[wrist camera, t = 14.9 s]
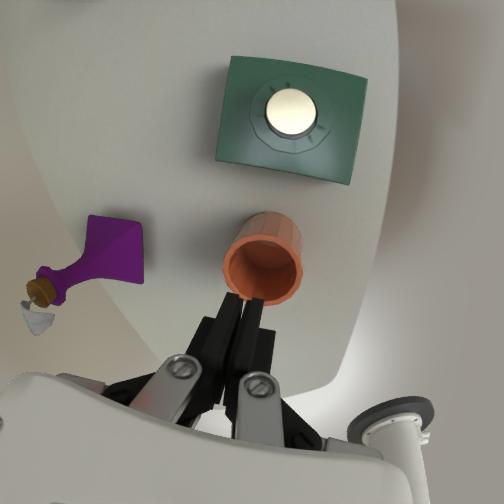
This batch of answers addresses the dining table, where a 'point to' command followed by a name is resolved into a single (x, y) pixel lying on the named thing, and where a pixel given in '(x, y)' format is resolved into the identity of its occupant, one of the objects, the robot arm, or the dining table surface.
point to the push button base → (291, 146)
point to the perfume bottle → (88, 266)
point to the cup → (265, 259)
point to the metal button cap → (290, 111)
